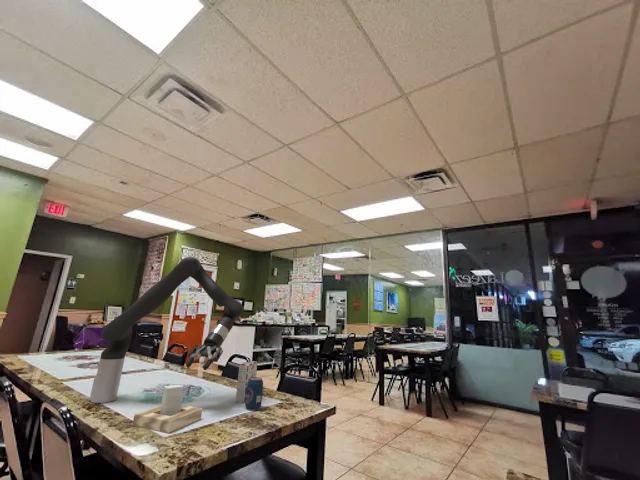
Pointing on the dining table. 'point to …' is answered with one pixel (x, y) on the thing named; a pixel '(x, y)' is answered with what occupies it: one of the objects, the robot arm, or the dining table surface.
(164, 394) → the skincare box
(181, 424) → the socket block
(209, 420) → the dining table surface
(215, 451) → the dining table surface
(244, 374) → the candy bar box
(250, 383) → the soda can
